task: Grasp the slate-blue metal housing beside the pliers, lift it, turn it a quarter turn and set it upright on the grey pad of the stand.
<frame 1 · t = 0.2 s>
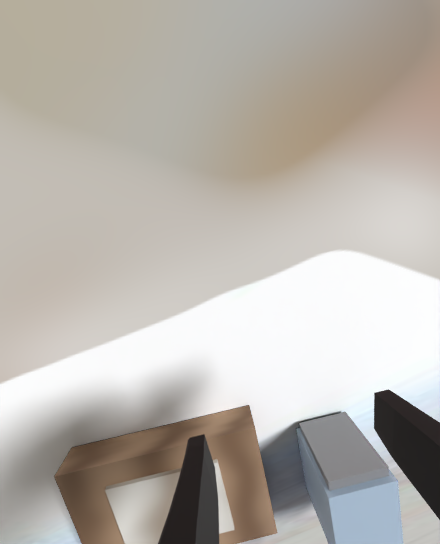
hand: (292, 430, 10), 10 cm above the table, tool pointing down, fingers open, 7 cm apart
stand: (176, 476, 22), on the table
housing: (325, 452, 23), on the table
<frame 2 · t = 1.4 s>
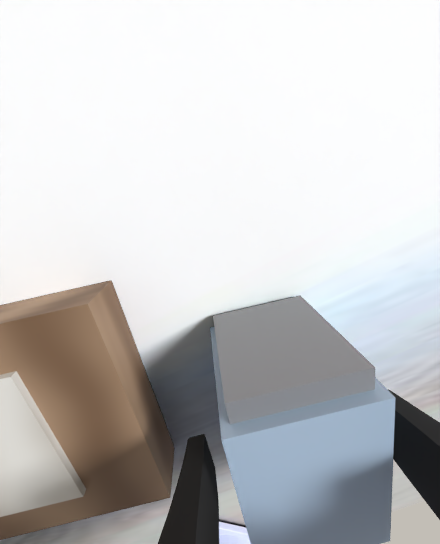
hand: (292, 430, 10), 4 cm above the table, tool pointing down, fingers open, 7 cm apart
housing: (266, 370, 13), on the table
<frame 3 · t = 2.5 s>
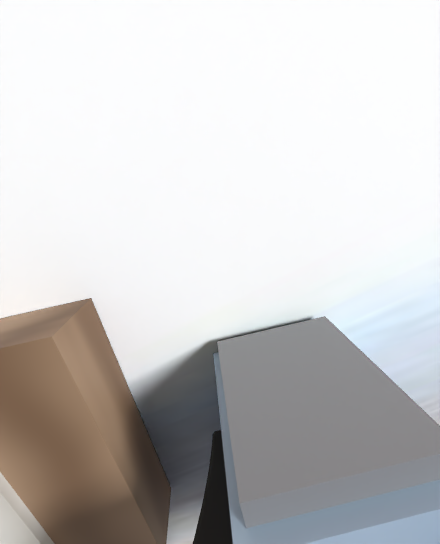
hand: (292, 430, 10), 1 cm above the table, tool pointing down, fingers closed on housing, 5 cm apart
housing: (280, 402, 11), on the table, touching gripper
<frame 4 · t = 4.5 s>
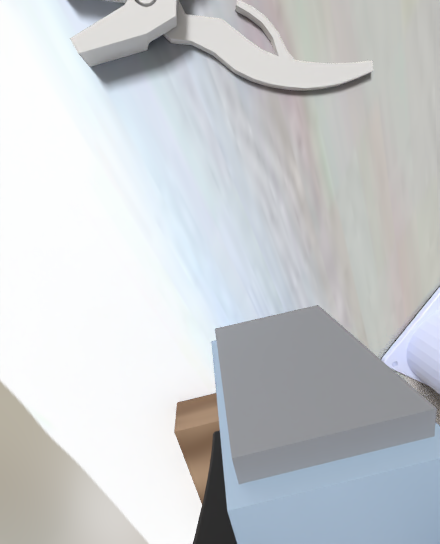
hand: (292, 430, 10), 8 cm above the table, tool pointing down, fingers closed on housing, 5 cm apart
stand: (258, 453, 22), on the table
pliers: (220, 2, 12), on the table
housing: (277, 391, 12), point 6 cm above the table, touching gripper
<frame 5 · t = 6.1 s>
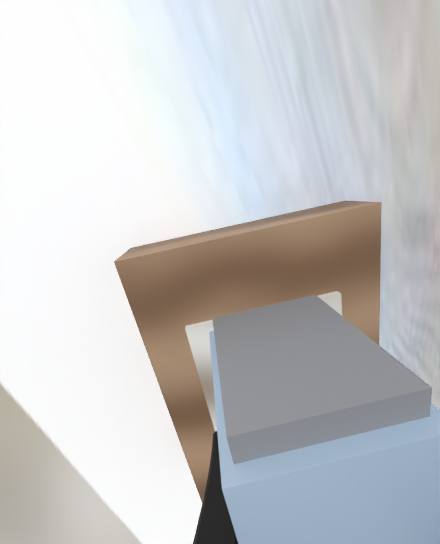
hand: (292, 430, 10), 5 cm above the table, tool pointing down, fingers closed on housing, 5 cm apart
stand: (262, 354, 14), on the table
housing: (275, 382, 12), point 3 cm above the table, touching gripper, stand
when the fingers open (5 cm above the table, at t = 6.8 s): housing stays where it is, resting on stand.
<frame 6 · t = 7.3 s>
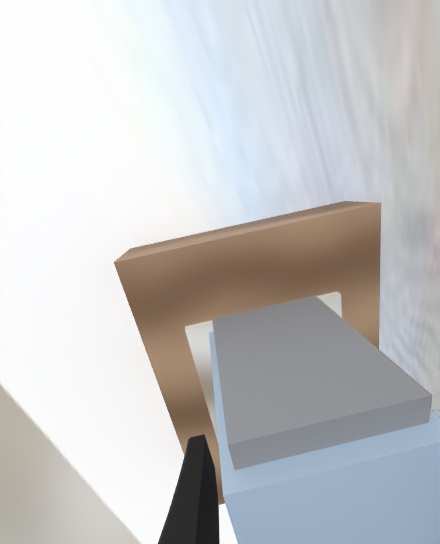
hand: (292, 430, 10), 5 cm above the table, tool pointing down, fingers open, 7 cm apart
stand: (261, 355, 14), on the table
housing: (274, 381, 12), point 3 cm above the table, touching stand
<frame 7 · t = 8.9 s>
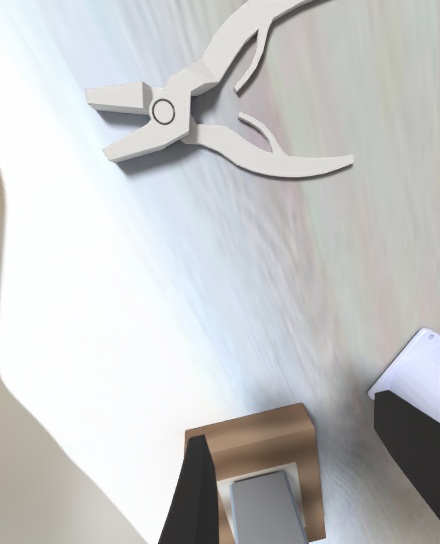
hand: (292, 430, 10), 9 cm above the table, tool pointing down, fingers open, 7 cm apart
stand: (257, 473, 24), on the table
pliers: (225, 109, 15), on the table
housing: (263, 503, 22), point 3 cm above the table, touching stand
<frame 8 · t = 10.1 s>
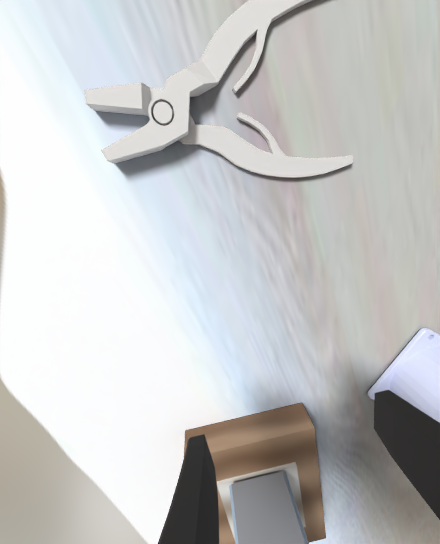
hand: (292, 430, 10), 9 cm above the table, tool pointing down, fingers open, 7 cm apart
stand: (257, 473, 24), on the table
pliers: (224, 109, 15), on the table
housing: (263, 503, 22), point 3 cm above the table, touching stand
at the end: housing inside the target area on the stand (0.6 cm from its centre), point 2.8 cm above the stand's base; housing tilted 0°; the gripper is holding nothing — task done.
